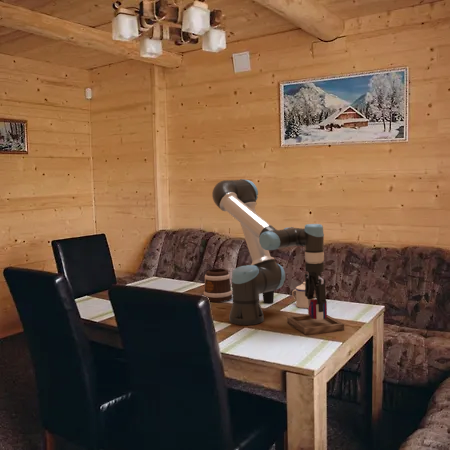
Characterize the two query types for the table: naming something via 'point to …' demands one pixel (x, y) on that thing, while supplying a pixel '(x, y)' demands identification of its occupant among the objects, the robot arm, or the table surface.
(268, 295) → the drinking cup
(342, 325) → the walnut tray
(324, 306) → the cup
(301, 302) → the teacup with lid
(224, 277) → the mug
